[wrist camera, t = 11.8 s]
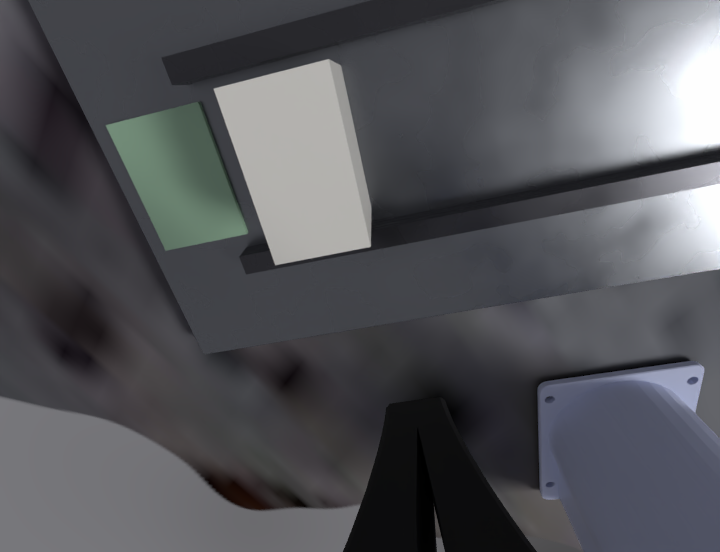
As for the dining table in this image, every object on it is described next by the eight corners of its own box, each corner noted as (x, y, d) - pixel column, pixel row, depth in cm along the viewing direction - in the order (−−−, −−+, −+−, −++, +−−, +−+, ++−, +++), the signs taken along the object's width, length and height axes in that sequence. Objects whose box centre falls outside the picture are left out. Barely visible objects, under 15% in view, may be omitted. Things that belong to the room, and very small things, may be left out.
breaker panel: (821, 231, 17) (891, 255, 14) (214, 336, 20) (195, 368, 18) (1013, -360, 10) (1206, -494, 7) (37, -44, 13) (-32, -70, 11)
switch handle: (371, 207, 15) (370, 246, 12) (298, 223, 15) (275, 265, 12) (341, 65, 13) (328, 58, 9) (256, 86, 13) (213, 88, 10)
